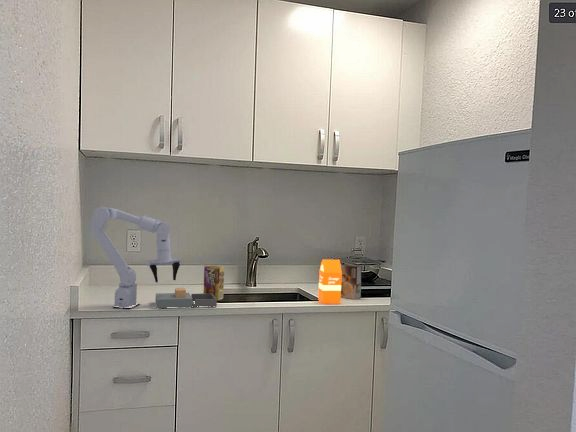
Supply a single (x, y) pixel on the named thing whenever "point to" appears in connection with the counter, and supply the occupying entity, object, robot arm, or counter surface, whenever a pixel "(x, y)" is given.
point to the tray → (204, 299)
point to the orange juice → (330, 281)
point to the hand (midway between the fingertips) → (165, 281)
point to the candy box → (214, 281)
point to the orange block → (180, 292)
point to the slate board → (172, 300)
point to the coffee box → (351, 281)
